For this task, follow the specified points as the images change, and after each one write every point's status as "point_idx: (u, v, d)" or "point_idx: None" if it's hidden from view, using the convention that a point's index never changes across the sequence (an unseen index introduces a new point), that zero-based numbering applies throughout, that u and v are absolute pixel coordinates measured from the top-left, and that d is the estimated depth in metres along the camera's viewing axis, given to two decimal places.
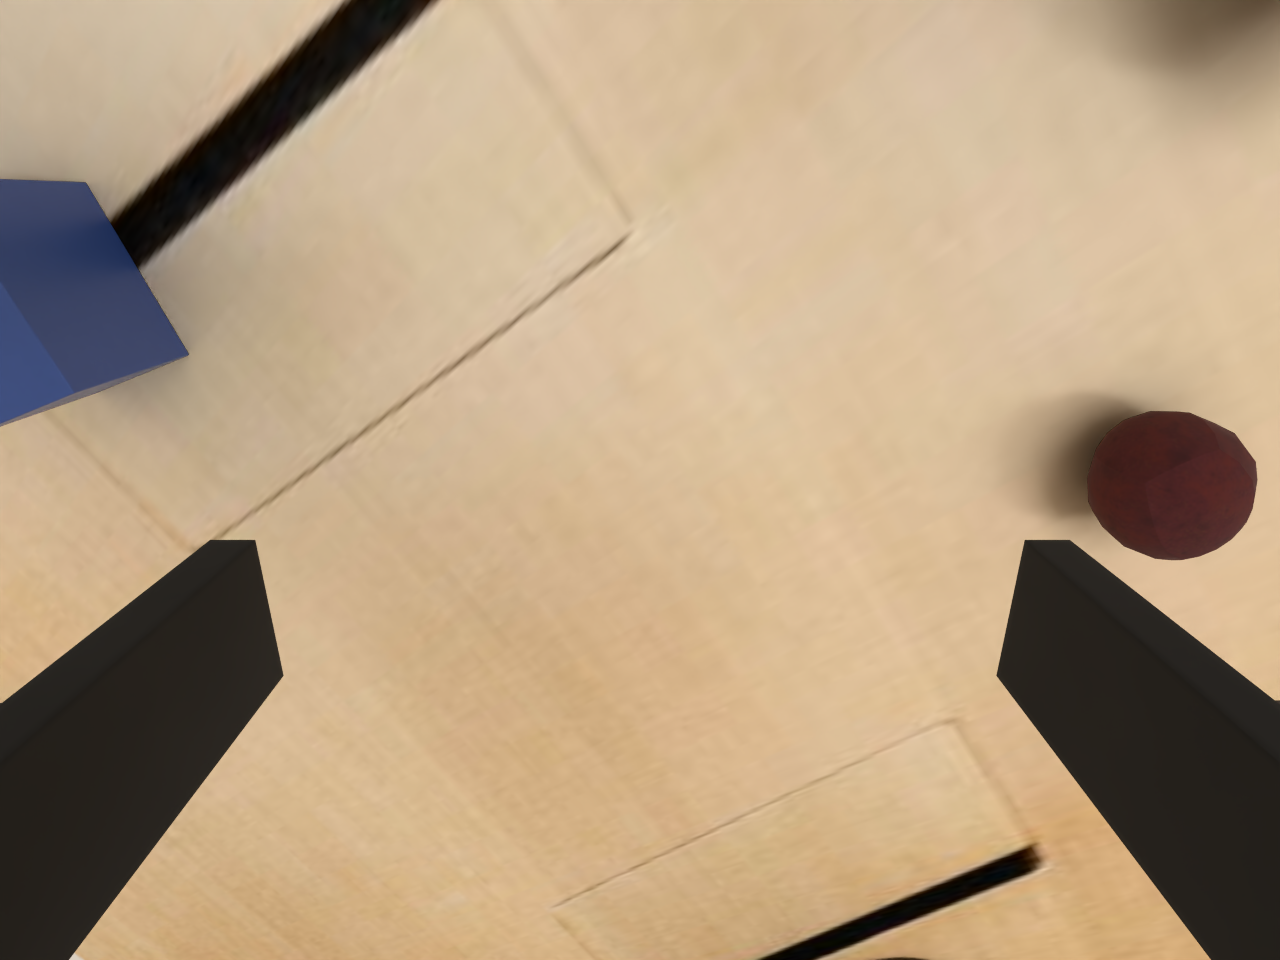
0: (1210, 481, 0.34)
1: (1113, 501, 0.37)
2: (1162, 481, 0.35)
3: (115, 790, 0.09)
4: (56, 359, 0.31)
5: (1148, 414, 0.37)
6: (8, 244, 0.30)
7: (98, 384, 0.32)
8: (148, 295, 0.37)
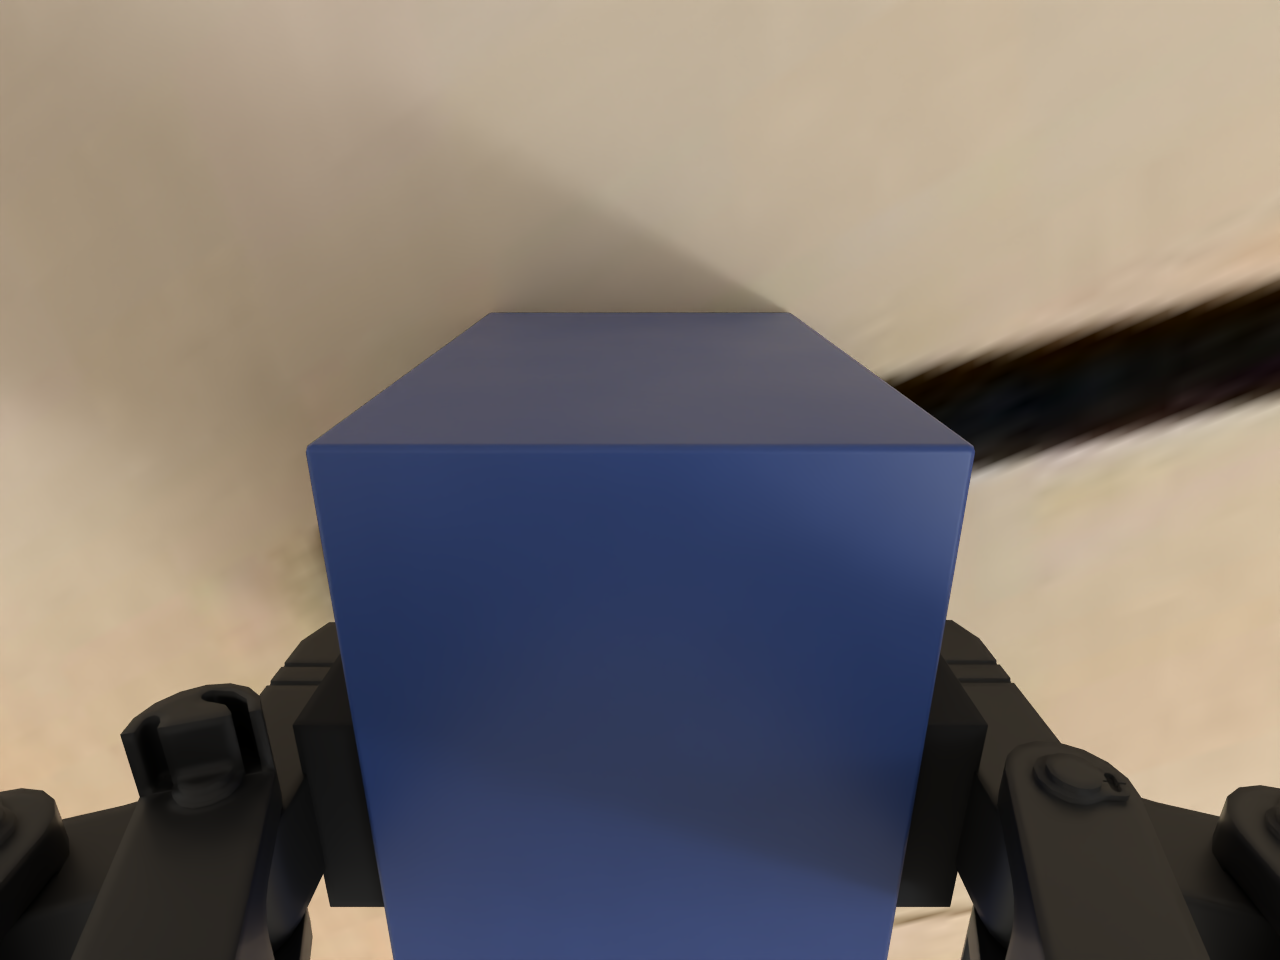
0: None
1: None
2: None
3: None
4: None
5: None
6: None
7: None
8: None
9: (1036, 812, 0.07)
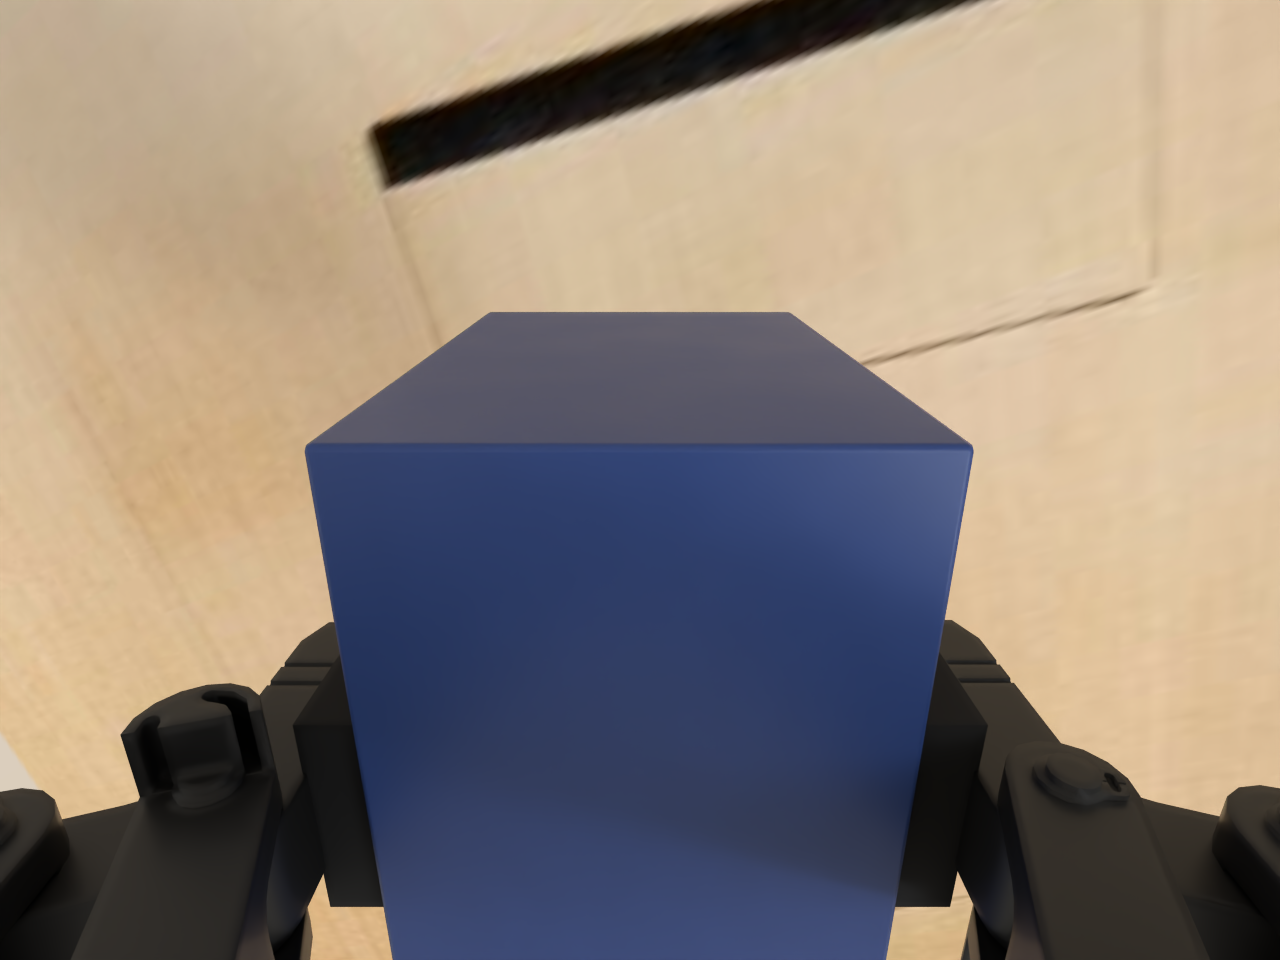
0: None
1: None
2: None
3: None
4: None
5: None
6: None
7: None
8: None
9: (1036, 813, 0.07)
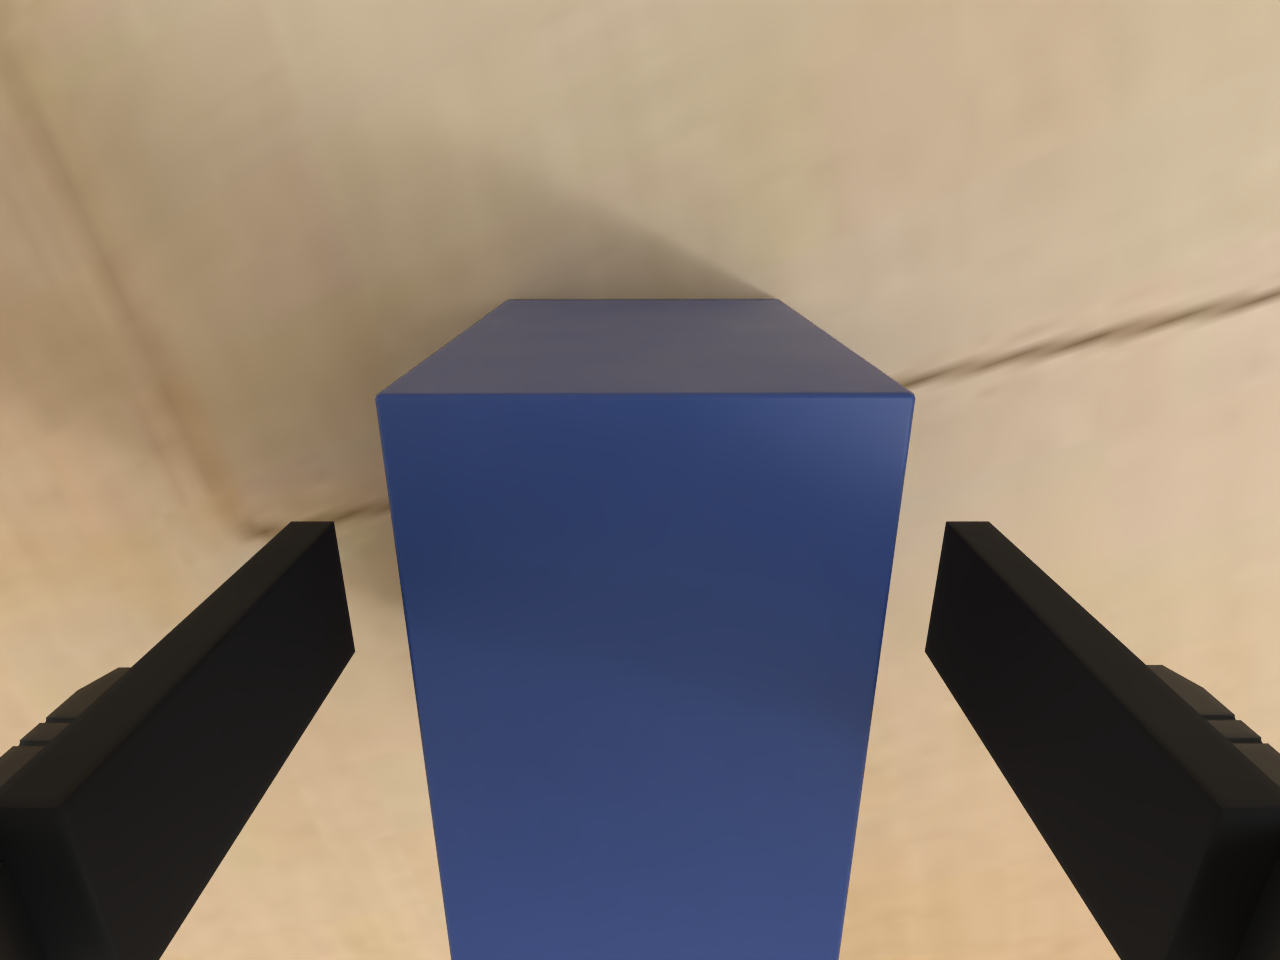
0: None
1: None
2: None
3: (231, 746, 0.10)
4: (845, 886, 0.11)
5: None
6: None
7: None
8: None
9: None
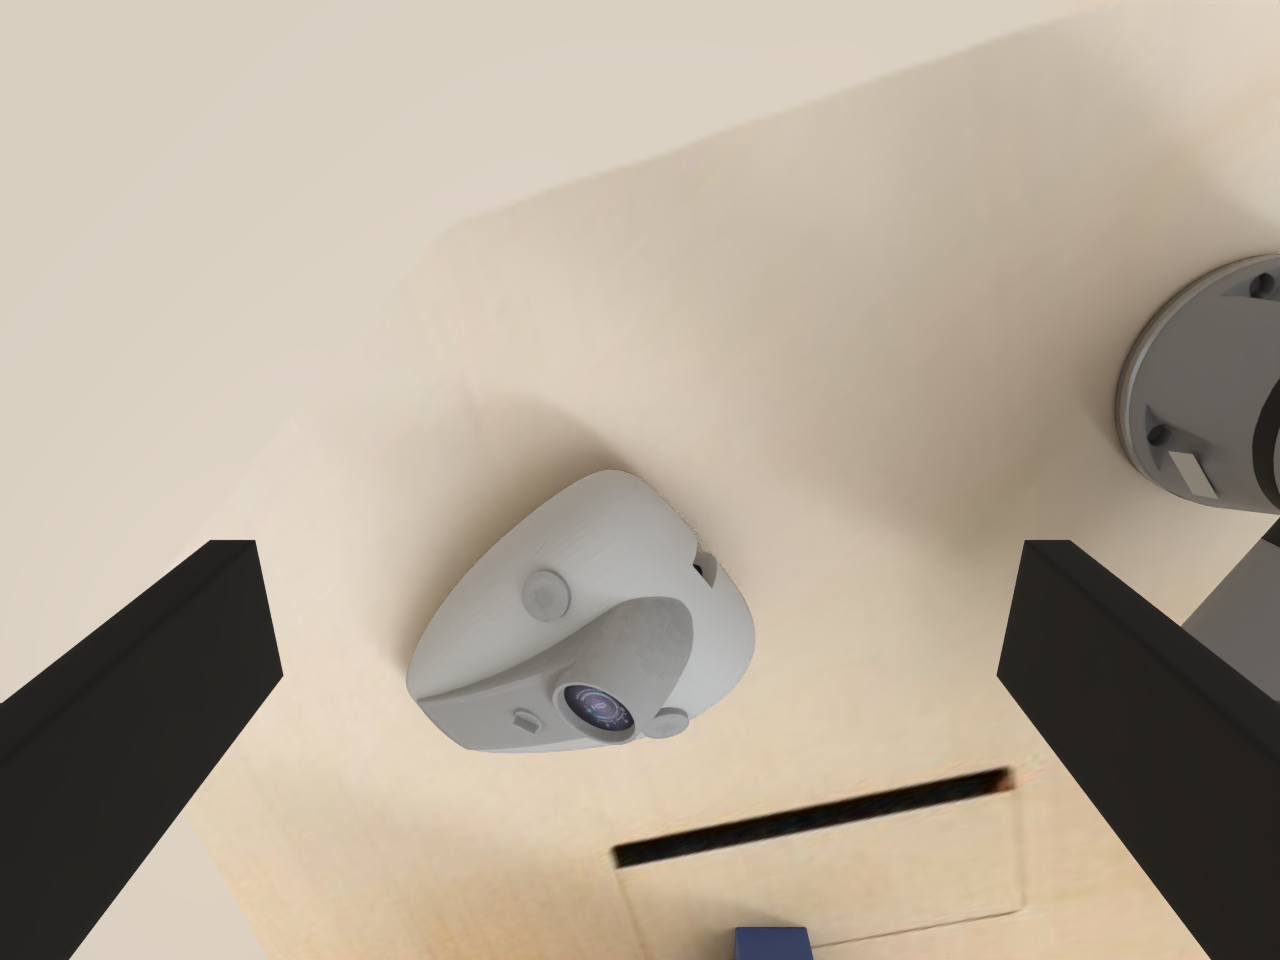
0: None
1: None
2: None
3: (115, 790, 0.09)
4: None
5: None
6: None
7: None
8: None
9: None
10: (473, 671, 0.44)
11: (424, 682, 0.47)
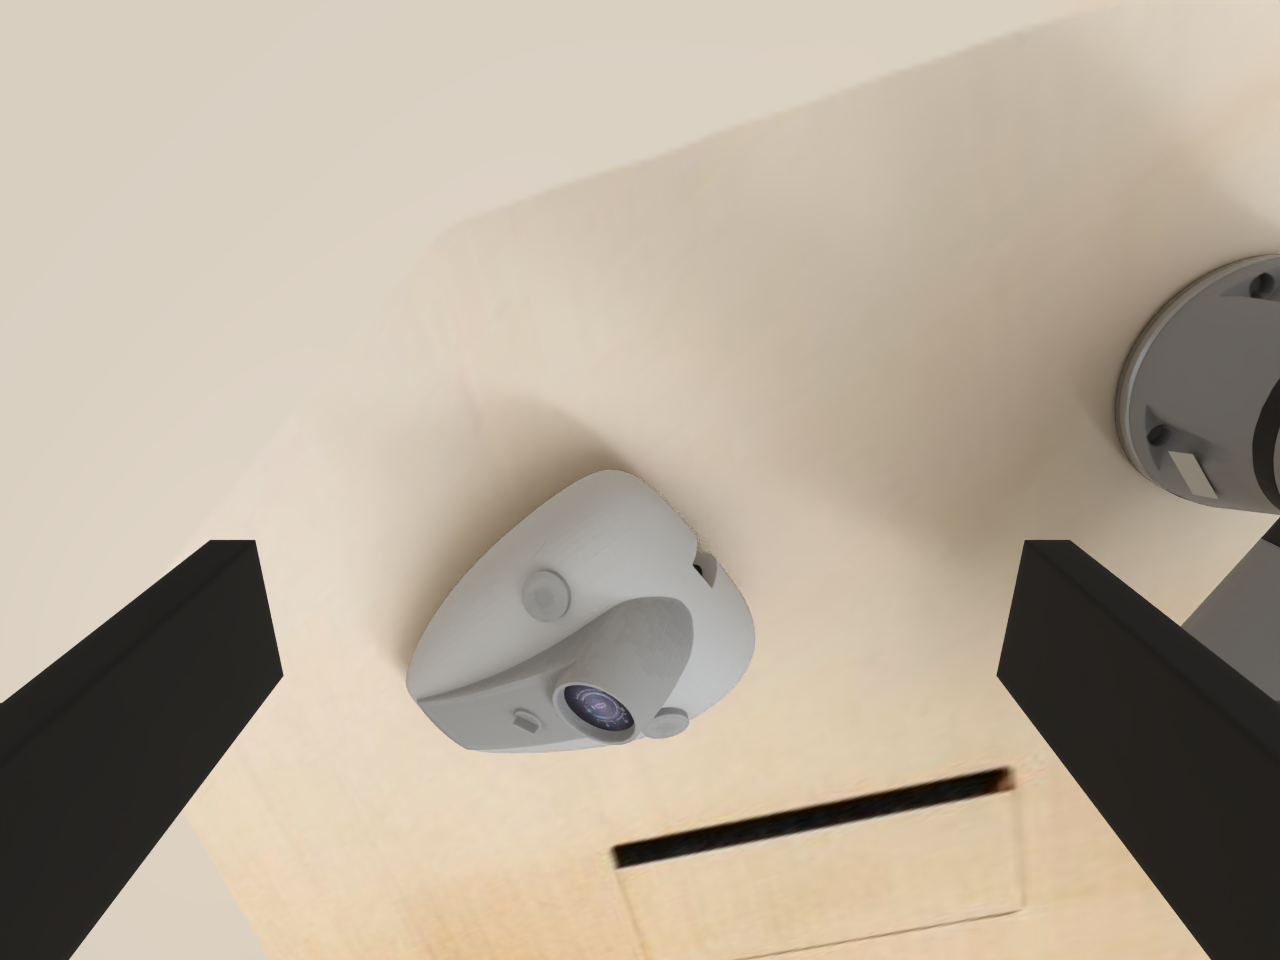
0: None
1: None
2: None
3: (115, 790, 0.09)
4: None
5: None
6: None
7: None
8: None
9: None
10: (473, 671, 0.44)
11: (424, 682, 0.47)
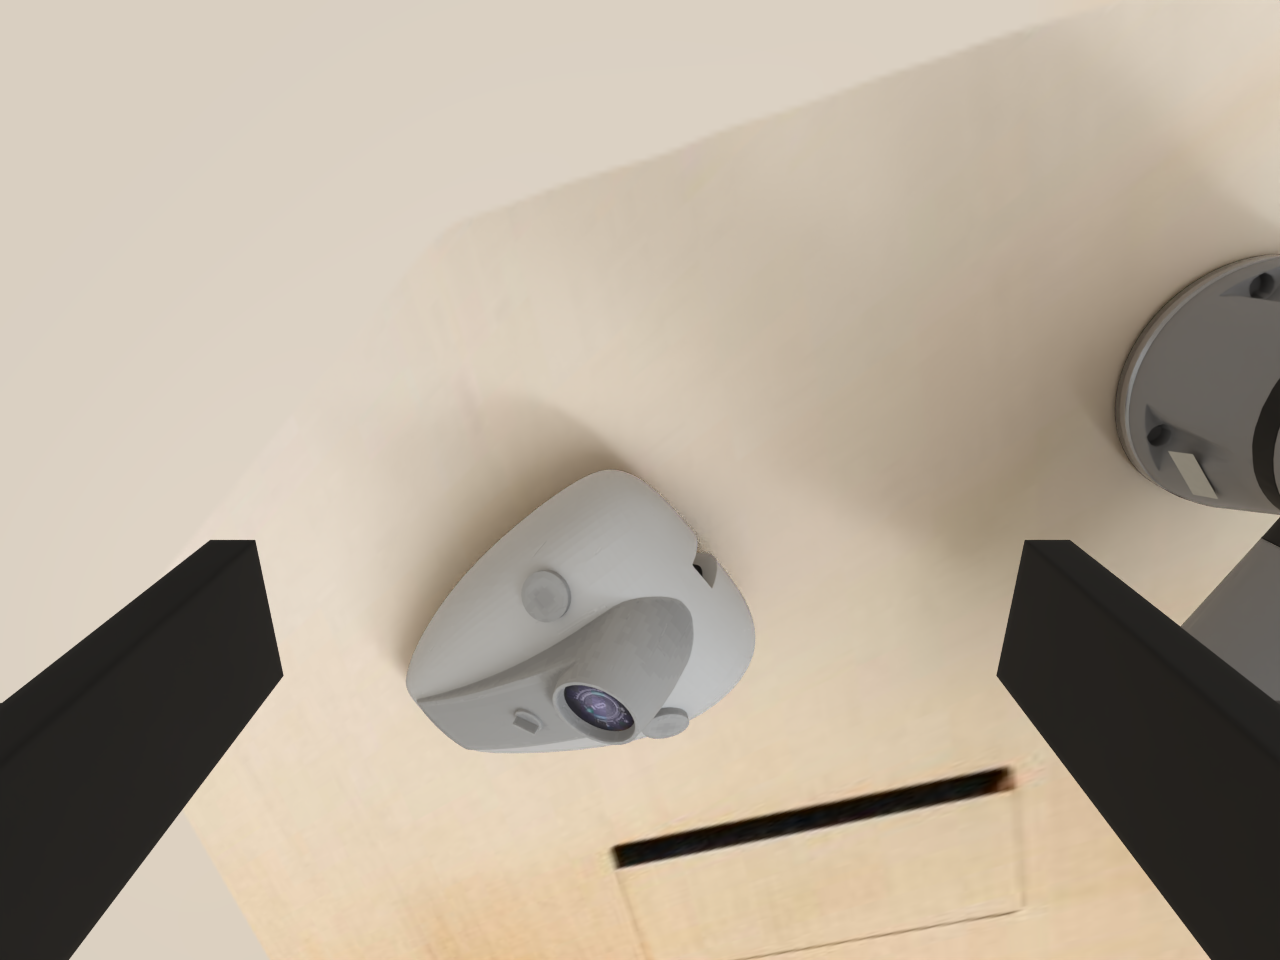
0: None
1: None
2: None
3: (115, 790, 0.09)
4: None
5: None
6: None
7: None
8: None
9: None
10: (473, 671, 0.44)
11: (424, 682, 0.47)
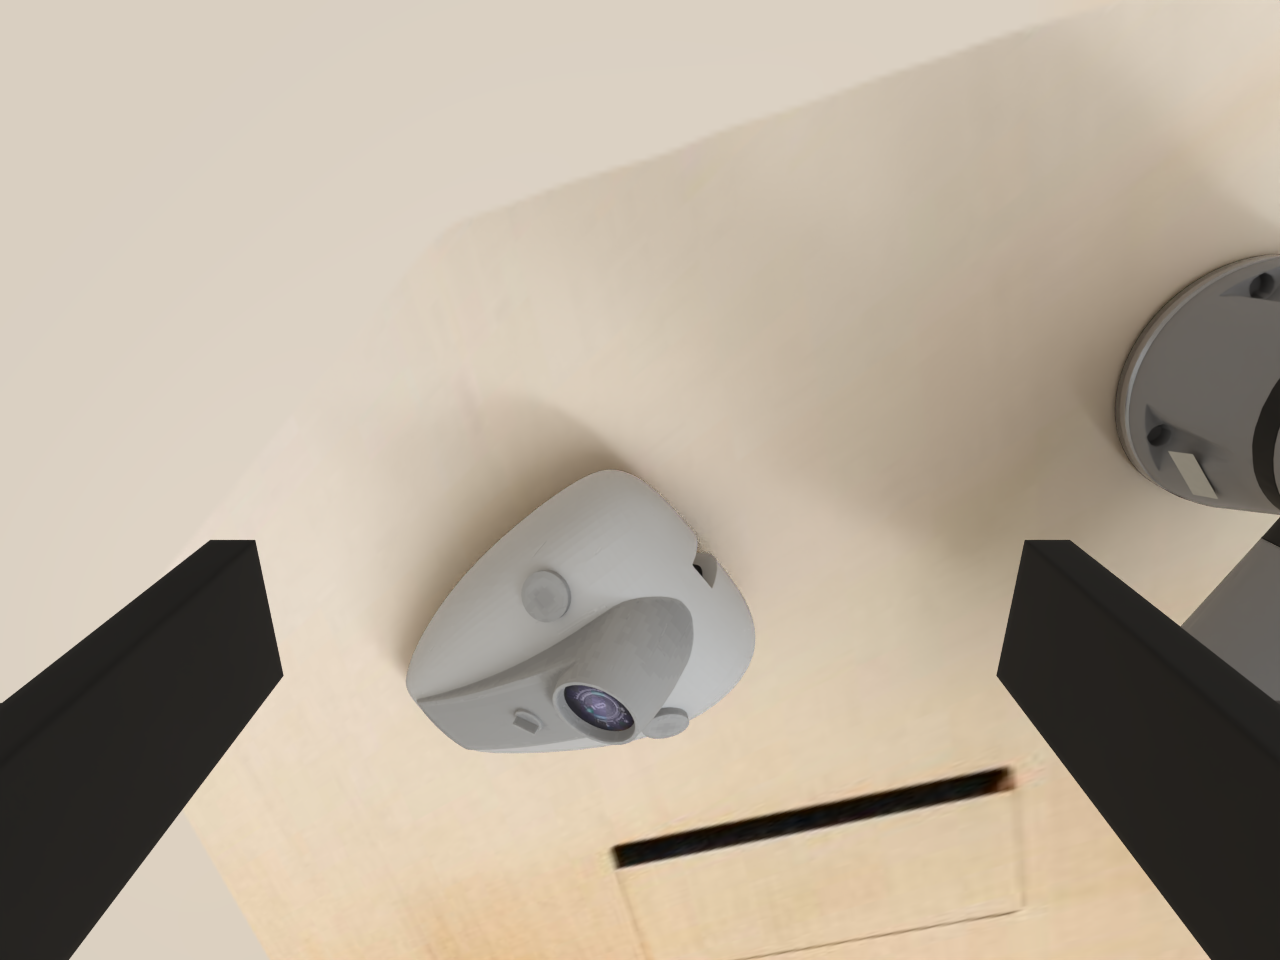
0: None
1: None
2: None
3: (115, 790, 0.09)
4: None
5: None
6: None
7: None
8: None
9: None
10: (473, 671, 0.44)
11: (424, 682, 0.47)
